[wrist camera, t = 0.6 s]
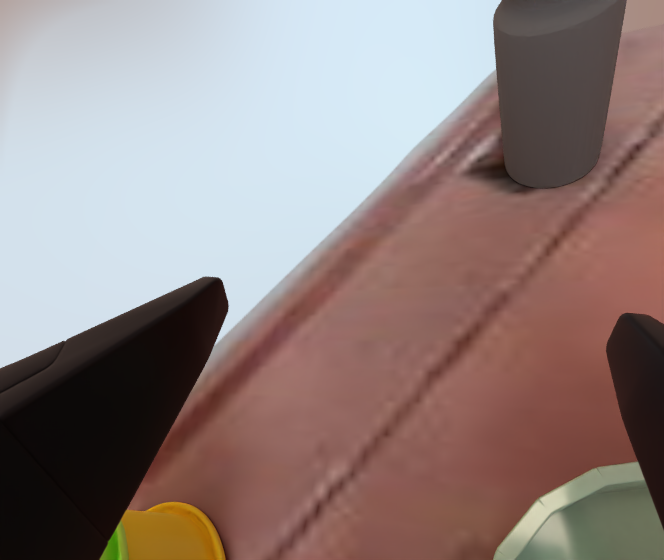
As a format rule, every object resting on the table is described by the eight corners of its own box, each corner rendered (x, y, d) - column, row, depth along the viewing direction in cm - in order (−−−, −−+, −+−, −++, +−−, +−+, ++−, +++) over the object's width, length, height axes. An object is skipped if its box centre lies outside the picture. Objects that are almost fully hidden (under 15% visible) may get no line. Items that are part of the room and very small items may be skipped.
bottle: (509, 134, 29) (494, -119, 18) (601, 124, 26) (652, -187, 15) (499, 191, 27) (472, -59, 16) (598, 187, 24) (656, -126, 13)
